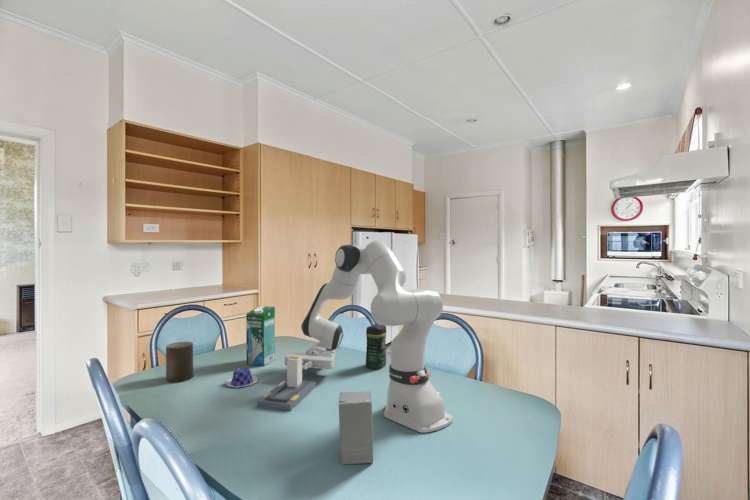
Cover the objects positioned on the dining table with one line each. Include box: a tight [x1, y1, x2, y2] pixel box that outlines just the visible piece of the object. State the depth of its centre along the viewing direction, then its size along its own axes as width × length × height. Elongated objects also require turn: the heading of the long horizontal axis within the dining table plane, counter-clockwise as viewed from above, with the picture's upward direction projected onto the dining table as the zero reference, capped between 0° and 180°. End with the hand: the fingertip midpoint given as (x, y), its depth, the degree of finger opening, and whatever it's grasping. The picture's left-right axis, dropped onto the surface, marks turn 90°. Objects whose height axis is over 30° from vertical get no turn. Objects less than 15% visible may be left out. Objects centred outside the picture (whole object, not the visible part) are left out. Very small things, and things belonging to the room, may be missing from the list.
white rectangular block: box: [286, 356, 303, 388], centre depth 132 cm, size 4×4×10 cm
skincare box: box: [338, 390, 374, 466], centre depth 90 cm, size 8×7×16 cm
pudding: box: [225, 367, 259, 388], centre depth 140 cm, size 12×12×5 cm
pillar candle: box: [165, 341, 194, 383], centre depth 145 cm, size 10×10×15 cm
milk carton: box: [245, 305, 276, 367], centre depth 165 cm, size 9×9×25 cm
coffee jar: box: [365, 322, 387, 370], centre depth 159 cm, size 10×8×19 cm
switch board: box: [256, 378, 316, 412], centre depth 127 cm, size 20×12×3 cm, turn 166°
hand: (301, 367), depth 137 cm, fingers closed
